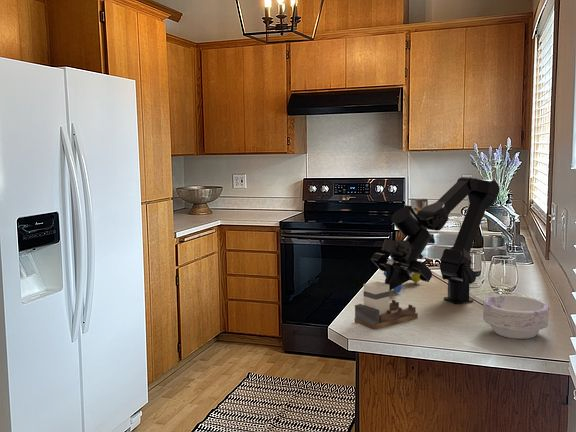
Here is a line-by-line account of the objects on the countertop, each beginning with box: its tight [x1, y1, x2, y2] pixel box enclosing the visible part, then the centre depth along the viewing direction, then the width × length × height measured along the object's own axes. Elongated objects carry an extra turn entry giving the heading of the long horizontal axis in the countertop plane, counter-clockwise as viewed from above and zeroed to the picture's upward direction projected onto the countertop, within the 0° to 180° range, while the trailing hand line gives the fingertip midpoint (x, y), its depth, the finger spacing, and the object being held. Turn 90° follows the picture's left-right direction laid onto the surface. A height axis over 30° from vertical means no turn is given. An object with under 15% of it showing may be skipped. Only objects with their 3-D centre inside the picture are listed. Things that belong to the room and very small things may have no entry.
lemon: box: [411, 273, 421, 284], centre depth 193 cm, size 6×6×8 cm
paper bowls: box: [482, 294, 550, 340], centre depth 141 cm, size 15×15×8 cm
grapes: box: [382, 257, 403, 294], centre depth 184 cm, size 12×7×12 cm, turn 176°
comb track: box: [353, 299, 419, 331], centre depth 154 cm, size 16×8×5 cm, turn 124°
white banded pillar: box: [363, 281, 391, 315], centre depth 152 cm, size 5×5×9 cm
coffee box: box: [410, 198, 429, 214], centre depth 318 cm, size 9×6×16 cm
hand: (385, 291), depth 153 cm, fingers closed
